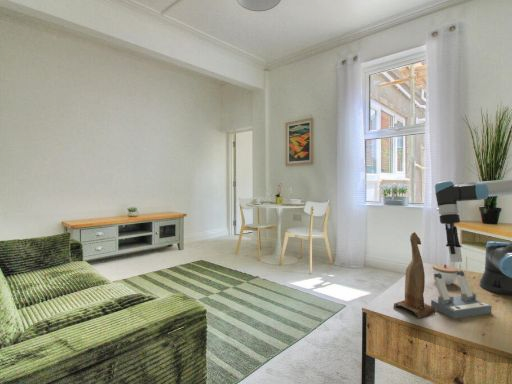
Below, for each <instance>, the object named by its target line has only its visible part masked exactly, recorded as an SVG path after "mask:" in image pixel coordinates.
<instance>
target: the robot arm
mask: <svg viewBox="0 0 512 384" xmlns="http://www.w3.org/2000/svg"><path fill="white" fill-rule="evenodd" d="M434 190H435V193H434V194H435V199H436V202H437V203H436V204H437V207H438V208H436V211H438V214H439V222H440V224H442V225H444V226H445V227H444V228H445V233H446V244H445V247H448V252H449V258H450V262H451V263H460V262H461V263H463V257H462V250H461V248H462V244H461V243H460V239H459V234H458V228H457V226H456V225H455V224H459V223H461V219H460V215H459V212H460V211H459V207H458V203H457V202H467V201H469V202H470V201H481V200H486V199H488V197H500V196H501V197H502V196H512V178H508V179H507V178H506V179H495V180H487V181H476V182H465V183H464V182H461V183H457V184H454V182H453V181H451V180H450V181H447V180H446V181H440V182H439V181H438V182H437V183H436V184H435V185H434ZM479 287H481V288H482V289H484V290H486V291H489V292H492V293H497V294H500V295H507V296H512V241H511V242H507V241H505V242H504V241H495V240H494V241H493V240H492V241H491V240H490V241H487V242H486V245H485V262H484V271H483V274H482V275H481V278H480V279H479Z"/></svg>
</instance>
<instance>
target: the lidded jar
mask: <svg viewBox="0 0 512 384" xmlns="http://www.w3.org/2000/svg"><path fill="white" fill-rule="evenodd" d="M457 271H459V269H458V268H457V267H455V266H451V265H447V264H433V265H432V275H433V276H434V274H435V273H440V274H441V275H442V277H443V279H444V282H445V285H446V286H447V285H448V286H449V285H452V284H453V283H455V282H456V280H458V279H457V276H456V275H457V274H456V272H457Z"/></svg>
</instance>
